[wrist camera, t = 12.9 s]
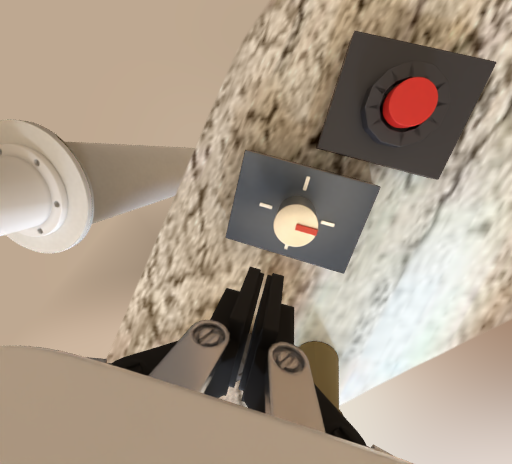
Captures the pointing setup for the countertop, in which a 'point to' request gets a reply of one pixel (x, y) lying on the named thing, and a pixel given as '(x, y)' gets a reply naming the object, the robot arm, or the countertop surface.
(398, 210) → the countertop surface
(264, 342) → the robot arm
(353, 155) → the switch block
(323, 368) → the cork
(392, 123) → the power button
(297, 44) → the countertop surface
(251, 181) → the control panel
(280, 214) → the dial
